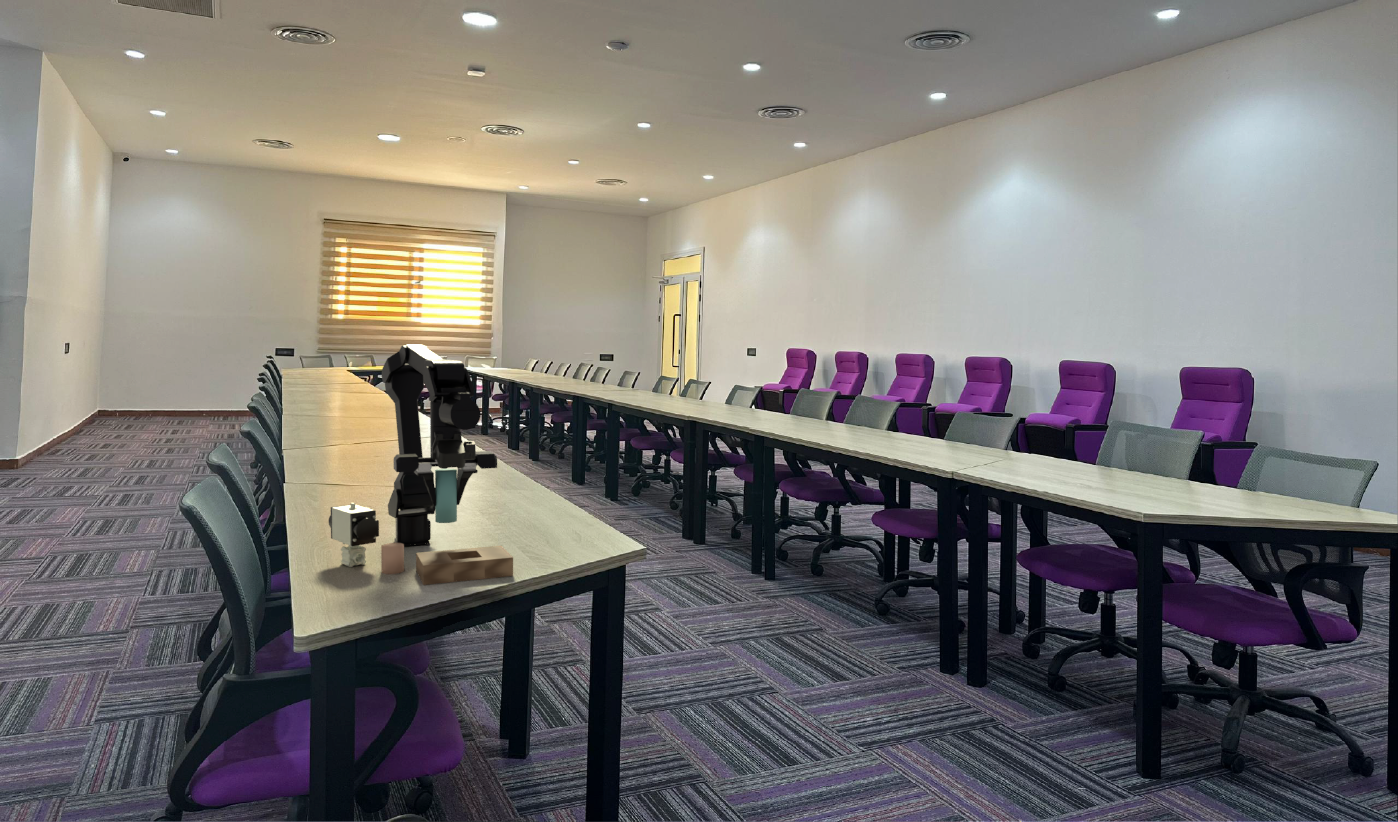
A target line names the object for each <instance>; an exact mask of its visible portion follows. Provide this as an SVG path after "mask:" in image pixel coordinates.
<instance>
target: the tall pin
mask: <svg viewBox="0 0 1398 822" xmlns="http://www.w3.org/2000/svg"><path fill="white" fill-rule="evenodd" d="M457 471H458V469H456V468H447V469H442V468H438V469H436V470H435V471H434V472H435V473H434V474H435V475H434V476H435V477H434V478H435V479H434V486H435V494H436V506H435V513H434V515H435V523H437V524H452V523H455V522H457V521H458V520H457V519H458V505H457Z"/></svg>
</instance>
